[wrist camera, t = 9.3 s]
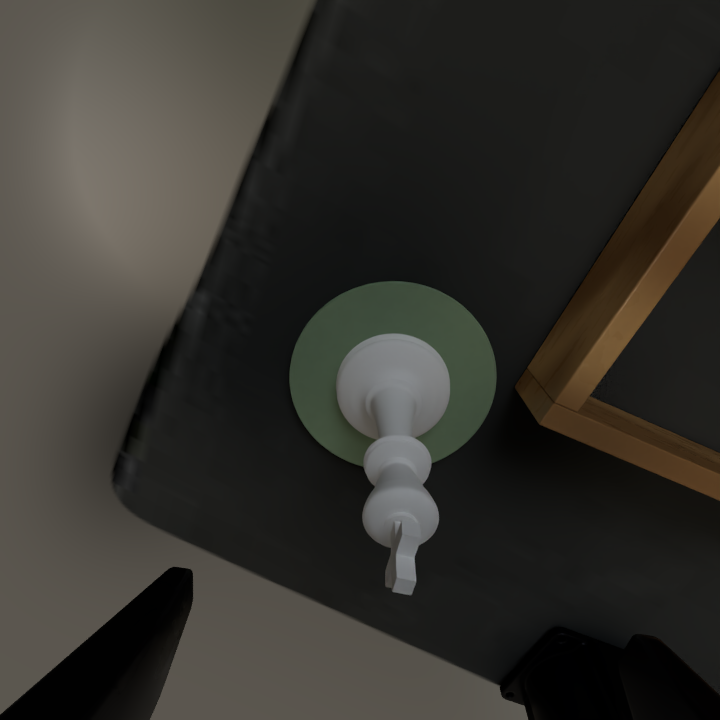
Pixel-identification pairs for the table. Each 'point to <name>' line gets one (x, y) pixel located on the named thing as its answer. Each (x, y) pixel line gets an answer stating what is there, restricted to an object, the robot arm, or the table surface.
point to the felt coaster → (386, 316)
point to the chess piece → (396, 440)
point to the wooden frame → (634, 310)
